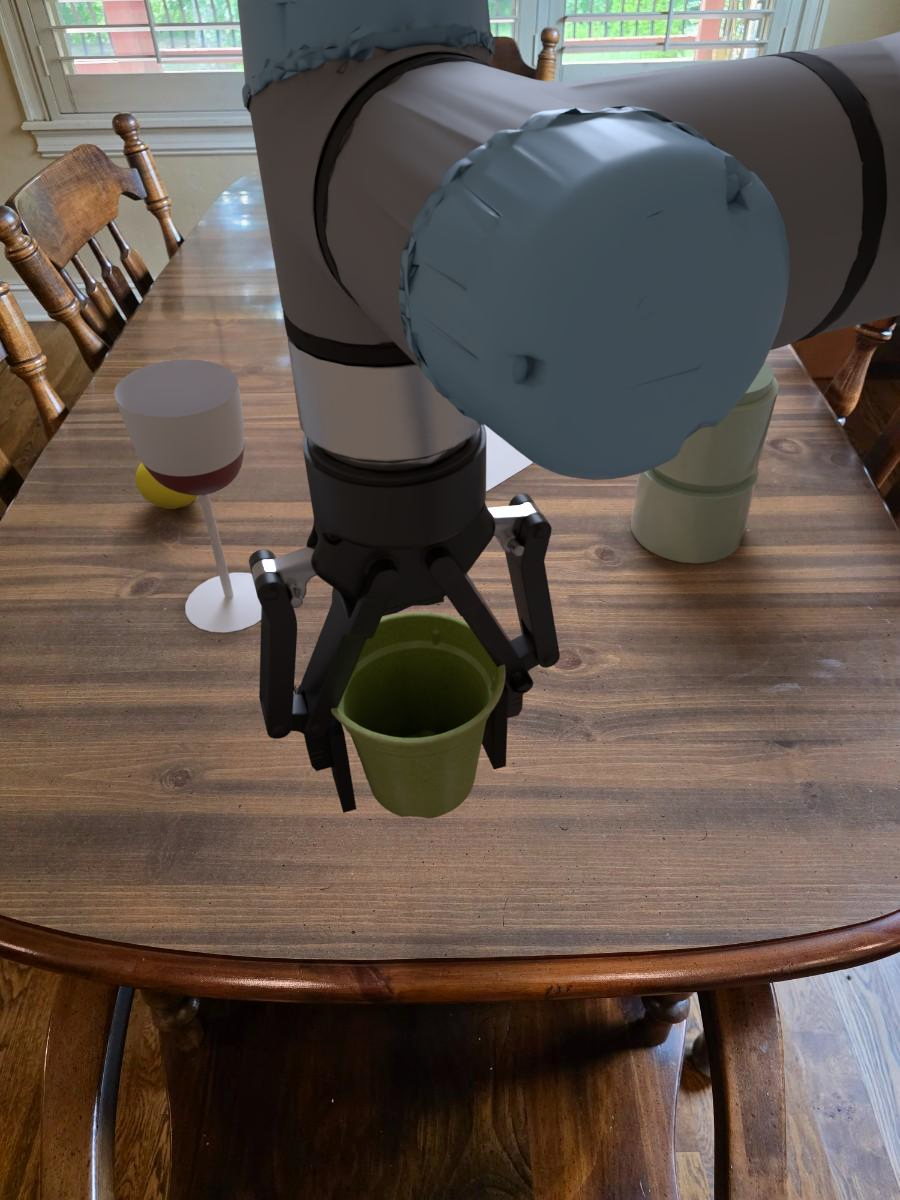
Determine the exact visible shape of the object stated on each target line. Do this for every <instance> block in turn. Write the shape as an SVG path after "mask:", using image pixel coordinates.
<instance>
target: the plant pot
mask: <svg viewBox="0 0 900 1200" xmlns="http://www.w3.org/2000/svg"><path fill="white" fill-rule="evenodd" d="M504 684H505V665H501V666H499V667H498V668H497V666H496V665H495V663H494V662H493V660H492V659H491V657H490V656H489V655H488V653H487V652H486V650H485V649H484V647H483V646H482V644H481V643H480V642H479V640H478V639H477V637H476V636H475V634H474V633H473V631H472V630H471V629H470V627H469V626H468V624H467V623H466V621H465V620H464V619H461V618H459V617H457V616H453V615H449V614H444V613H437V612H431V611H409V612H401V613H400V612H399V613H395V614H390V615H386V616H382V618H381V621H380V623H379V625H378V628H377V630H376V632H375V635H374V636H373V638H371V639H367V640H366V642H365V645H364V647H363V649H362V652H361V654H360V656H359V659H358V661H357V663H356V666H355V668H354V671H353V673H352V675H351V678H350V680H349V682H348V685H347V687H346V689H345V692H344V694H343V696H342V699H341V701H340V703H339V706H338V708H333V709H331V712H332V714H333V715H334V716H335V718H336V719H337V720H338V721H339V722H340V723H341V724H342V727H343V728H344V729H345V730H346V732H347V733H348V734H349V735H350V737H351V740H352V742H353V745H354V748H355V751H356V752H357V755H358V757H359V760H360V763H361V766H362V769H363V772H364V775H365V778H366V780H367V783H368V786H369V789H370V792H371V794H372V796H373V797H374V799H375V800H376V801H377V802H378V804H380V805H381V806H382V808H384V809H385V810H386V811H388V812H390V813H392V814H394V815H396V816H399V817H402V818H404V817H415V818H416V817H417V818H423V819H428V820H429V819H434V818H435V819H436V818H438V817H442V816H444V815H446V814H448V813H451V812H452V811H454V810H455V809H457V808H459V806H461V805H462V804H463V803H464V802H465V801H466V800H467V798H468V797H469V795H470V794H471V792H472V789H473V787H474V784H475V781H476V777H477V775H476V774H477V771H478V770H477V769H478V764H479V758H480V754H481V751H482V750H481V749H482V746H483V745H482V740H483V735H484V730H485V725H486V720H487V719H488V717H489V715H490V713H491V712H492V710H493V709H494V708H495V706H496V705H497V703H498V701H499V699H500V697H501V695H502V692H503V688H504Z"/></svg>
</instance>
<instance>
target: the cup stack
mask: <svg viewBox="0 0 900 1200" xmlns="http://www.w3.org/2000/svg"><path fill="white" fill-rule="evenodd" d="M779 390H780V386H779V381H778V379H777V377H776V376H775V371H774V369H773V367H772V366H771V364H769V362H767V361H766V360H765V362H764V365H763V366H762V368H761V370H760V371H759V373H758V375H757V376H756V378H755V380H754V381H753V383H752V384H751V385H750V387H749V388H748V390H747V391H746V393H745V394H744V396H743V397H742V398H741V399H740V401H739V402H738V403H737V404H736V406H735V407H734V408H733V409H732V410H731V412H730V413H729V414H728V415H727V416H726V417H725V418H724V419H723V420H722V421H720V422H719V423H718V424H717V425H716V426H715V427H704V428H701V429H699V430H697V431H696V432H695V433H693V434H692V435H691V436H689V437H688V438H687V439H686V440H685V441H684V443H683V445H682V447H681V450H680V452H679V454H678V455H677V456H676V457H675V458H673V459H672V460H670V461H668V462H666V463H664V464H662V465H660V466H658V467H655V468H653V469H650V470H648V471H646V472H643V473H640V474H637V477H636V484H635V485H636V486H635V491H634V498H633V505H632V511H631V515H630V530H631V532H632V535H633V538H635V540H636V541H637V542H638V543H639V544H640V545H641V546H642V547H643V548H645V550H648V551H649V552H651V553H652V554H654V555H657V556H659V557H661V558H663V559H667V560H670V561H674V562H678V563H685V564H706V563H707V564H708V563H713V562H717V561H720V560H723V559H725V558H728V557H729V556H731V555H732V554H733V553H734V552H736V550H737V549H738V548H739V547H740V545H741V543H742V539H743V536H744V531H745V528H746V524H747V520H748V518H749V514H750V509H751V506H752V503H753V498H754V495H755V490H756V487H757V483H758V480H759V477H760V476H759V475H760V470H759V466H760V463H761V458H762V454H763V451H764V447H765V443H766V439H767V435H768V432H769V428H770V424H771V421H772V416H773V412H774V409H775V405H776V401H777V398H778V394H779Z"/></svg>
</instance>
